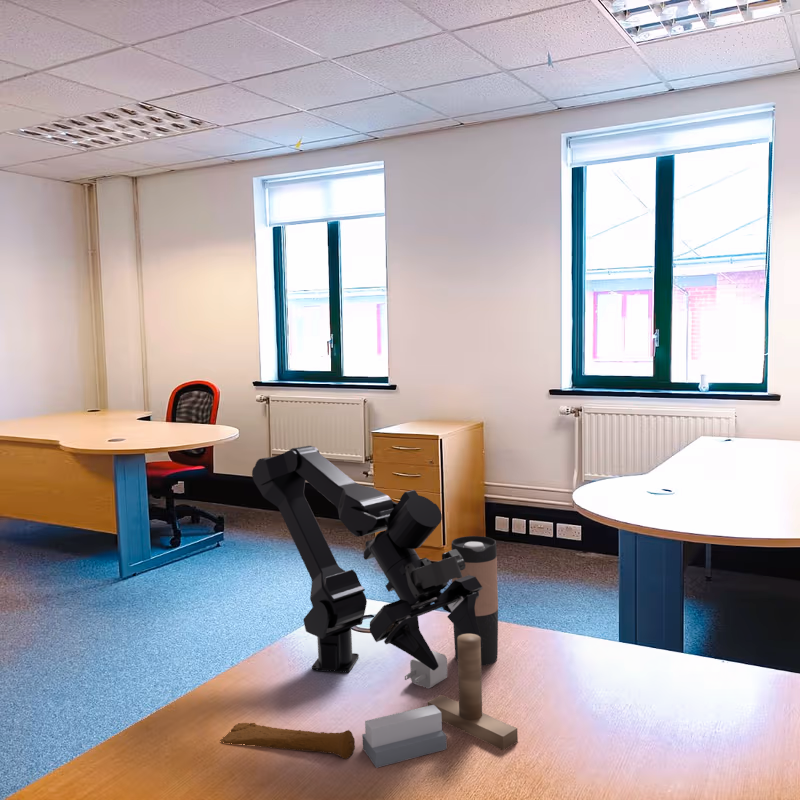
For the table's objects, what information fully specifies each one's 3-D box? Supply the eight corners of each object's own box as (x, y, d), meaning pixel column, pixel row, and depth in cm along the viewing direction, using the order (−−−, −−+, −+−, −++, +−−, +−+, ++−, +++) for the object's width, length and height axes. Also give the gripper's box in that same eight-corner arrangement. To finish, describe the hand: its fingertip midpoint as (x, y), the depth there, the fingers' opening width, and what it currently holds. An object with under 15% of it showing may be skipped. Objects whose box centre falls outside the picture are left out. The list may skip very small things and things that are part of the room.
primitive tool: (217, 745, 106) (216, 721, 106) (237, 726, 111) (236, 703, 111) (347, 766, 100) (347, 740, 100) (362, 744, 106) (362, 719, 105)
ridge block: (376, 767, 99) (375, 734, 98) (362, 748, 103) (361, 716, 103) (446, 749, 103) (445, 716, 102) (430, 731, 107) (429, 700, 107)
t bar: (427, 715, 112) (424, 628, 111) (442, 707, 114) (440, 622, 113) (502, 751, 102) (501, 656, 101) (518, 742, 104) (516, 648, 103)
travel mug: (468, 644, 136) (465, 533, 134) (507, 654, 132) (505, 539, 130) (445, 660, 130) (441, 544, 128) (484, 671, 126) (482, 550, 124)
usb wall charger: (447, 679, 123) (446, 655, 123) (420, 696, 118) (419, 670, 118) (427, 673, 126) (426, 649, 125) (400, 688, 121) (399, 664, 120)
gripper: (379, 549, 105) (441, 650, 98) (471, 522, 118) (531, 610, 110) (345, 593, 111) (400, 691, 104) (435, 563, 124) (490, 648, 117)
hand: (459, 658), depth 109 cm, fingers open, 9 cm apart
